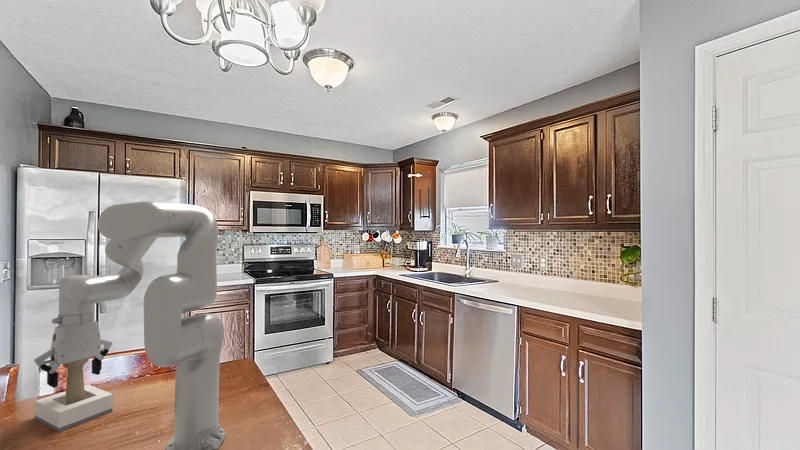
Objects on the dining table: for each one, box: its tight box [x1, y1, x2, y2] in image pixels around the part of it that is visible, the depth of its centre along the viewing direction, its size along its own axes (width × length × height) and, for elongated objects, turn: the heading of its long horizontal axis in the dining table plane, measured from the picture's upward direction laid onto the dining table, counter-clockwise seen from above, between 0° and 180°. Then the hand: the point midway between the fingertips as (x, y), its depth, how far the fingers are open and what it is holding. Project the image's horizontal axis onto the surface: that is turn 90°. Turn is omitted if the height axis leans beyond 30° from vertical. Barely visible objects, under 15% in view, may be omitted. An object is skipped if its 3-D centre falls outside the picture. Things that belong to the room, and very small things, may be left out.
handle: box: [61, 358, 90, 405], centre depth 103 cm, size 5×6×15 cm
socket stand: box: [34, 383, 114, 433], centre depth 103 cm, size 14×12×5 cm
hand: (75, 379), depth 103 cm, fingers open, 9 cm apart
